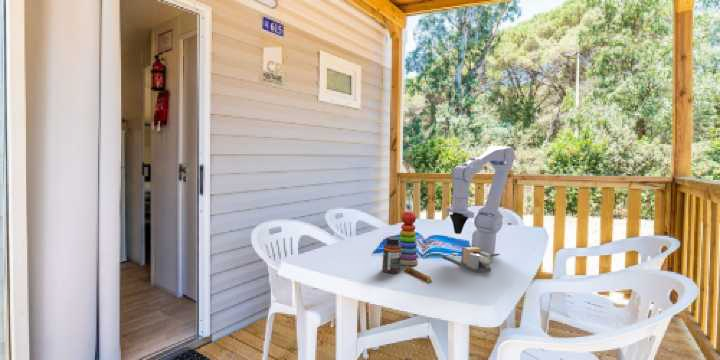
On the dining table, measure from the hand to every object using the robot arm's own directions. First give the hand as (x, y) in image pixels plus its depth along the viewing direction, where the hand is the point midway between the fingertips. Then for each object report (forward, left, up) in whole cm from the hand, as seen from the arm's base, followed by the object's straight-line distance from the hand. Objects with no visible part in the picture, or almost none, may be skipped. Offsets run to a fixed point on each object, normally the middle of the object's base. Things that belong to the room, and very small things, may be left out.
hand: (457, 233), depth 148 cm
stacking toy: (0, -21, -10) cm, 24 cm away
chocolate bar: (+14, -26, -11) cm, 31 cm away
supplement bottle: (+7, -31, -10) cm, 34 cm away
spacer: (+9, 0, -9) cm, 13 cm away
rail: (+6, 0, -10) cm, 11 cm away
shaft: (+11, 0, -9) cm, 14 cm away
